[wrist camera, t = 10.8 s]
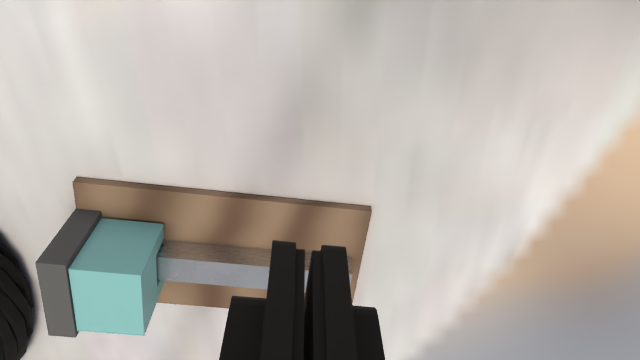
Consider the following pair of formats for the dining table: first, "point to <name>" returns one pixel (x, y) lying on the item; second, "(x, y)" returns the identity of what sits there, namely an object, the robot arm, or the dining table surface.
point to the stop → (63, 271)
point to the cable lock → (13, 309)
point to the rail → (218, 264)
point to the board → (227, 226)
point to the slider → (117, 277)
